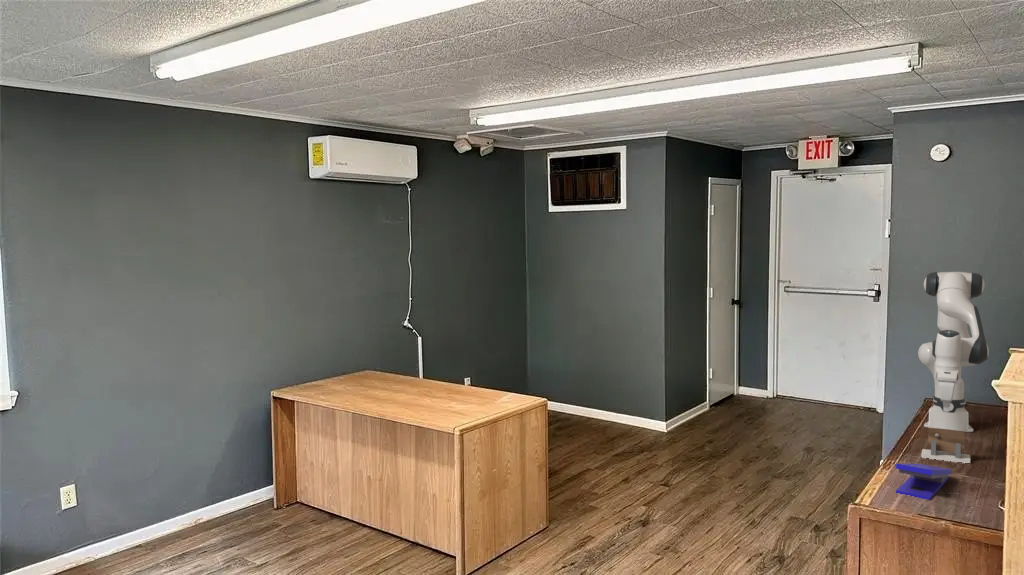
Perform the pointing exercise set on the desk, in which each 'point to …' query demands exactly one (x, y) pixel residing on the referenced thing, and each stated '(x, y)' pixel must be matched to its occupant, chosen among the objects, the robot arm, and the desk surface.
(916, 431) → the desk surface
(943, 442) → the door panel
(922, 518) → the desk surface
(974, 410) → the desk surface
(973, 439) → the desk surface
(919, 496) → the blue stacked plate part
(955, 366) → the robot arm
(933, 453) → the white and grey rack
